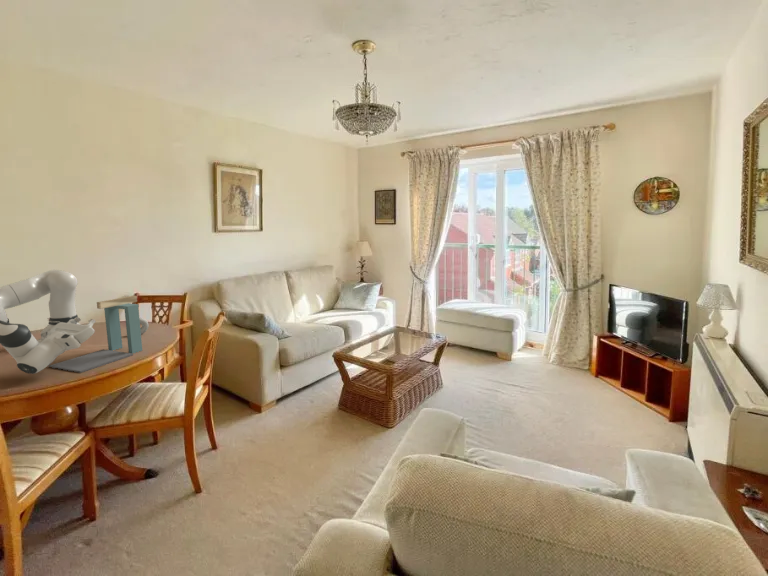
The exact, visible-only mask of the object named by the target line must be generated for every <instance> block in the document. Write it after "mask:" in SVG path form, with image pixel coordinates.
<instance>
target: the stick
mask: <svg viewBox="0 0 768 576" xmlns="http://www.w3.org/2000/svg"><path fill="white" fill-rule="evenodd" d="M137 302H138V296H137V295H130V296H129V295H128V296H124V297H118V298H112V299H108V300H101V301H97V302H96V307H97V309H99V310H101V309H102V310H103V309H104V308H108V307H113V306H118V305H123V304H128V303H130V304H134V303H137Z"/></svg>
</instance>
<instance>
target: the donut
mask: <svg viewBox="0 0 768 576" xmlns="http://www.w3.org/2000/svg"><path fill="white" fill-rule="evenodd" d="M139 318H140V325H141V326H140V329H141V335H143V334H144V333H146V332H147V330H149V321H148V320H147V319H146V318H143V317H139Z"/></svg>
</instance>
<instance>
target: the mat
mask: <svg viewBox="0 0 768 576" xmlns="http://www.w3.org/2000/svg"><path fill="white" fill-rule="evenodd" d="M132 356H134V354H133V353H129V352H124V351H118V350H114V351H112V350H109V349H100V350H96V351H93V352H89V353H87V354H83V355H79V356H76V357H72V358H70V359H67V360H64V361H60V362H56V363H53V364H49V365H48V368H49V367H52V368H51V369H55V368H58V369H57V370H61V369H63V370H62V371H67V370H68V371H67V372H73V371H74V373H77V374H78V373H80V374H81V373H85V372H88V371H91V370H93V369H96V368H99V367H102V366H105V365H108V364H109V365H110V364H111V363H114V362H117V361H120V360H123V359H127V358H129V357H132Z"/></svg>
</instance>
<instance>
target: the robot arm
mask: <svg viewBox="0 0 768 576" xmlns="http://www.w3.org/2000/svg"><path fill="white" fill-rule="evenodd" d="M78 284H79V283H78V279H77V277H76V276H75V275H74V274H73V273H72V272H70V271H65V270H59V269H51V270H47V271H44V272H42V273H39V274H36V275H34V276H31V277H29V278H26V279H23V280H22V279H21V280H20V281H16V282H13V283H9V284H6V285H3V286H0V345H1V346H2V347H3V348H4V349H5V351H6V352H7V353H9V355H11V357H12V358H13V359H14V360H15V361H16V367H17V369H19V370H20V371H22V372H23V373H26V374H30V375H34V374H37V373H39V372H41V371H43V370H44V369H46V367H49V365H52V363H53V362H54V361H55V360H56V358H57V357H58V356H60V355H62V354H63V353H65V352H67V351H70V350H74V349H78V348H80V347H81V346H82V345H81V344H83V343H85V342H86V341H87V340H88V339H90V338H91V337H92V336H93V334H95V329H94V328H93V325H94V324H95V323H96V320H95V318H93V319H92V318H90V320H88V322H87V323H86V324H81V323H80V322H81V321H82V318H80V317H79V316H78V314H77V309H76V308H77V307H76V306H77V305H76V295H77V294H76V292H77V286H78ZM46 295H49V301H48V311H49V317H47V320H48V324H47V326H45V327H44V328H43V329H42V330H41V332H40V338H39V339H36V337H35V336H34V335H33V333H32V332H31V331H30V329H29V327H28V326H27V325H25V324H23V323H11V322H10V320H9V318H8V314H7V312H6V310H8V309H11V308H15V307H18V306H21V305H24V304H27V303H30V302H33V301H36V300H39V299H41V298H42V297H44V296H46Z"/></svg>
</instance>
